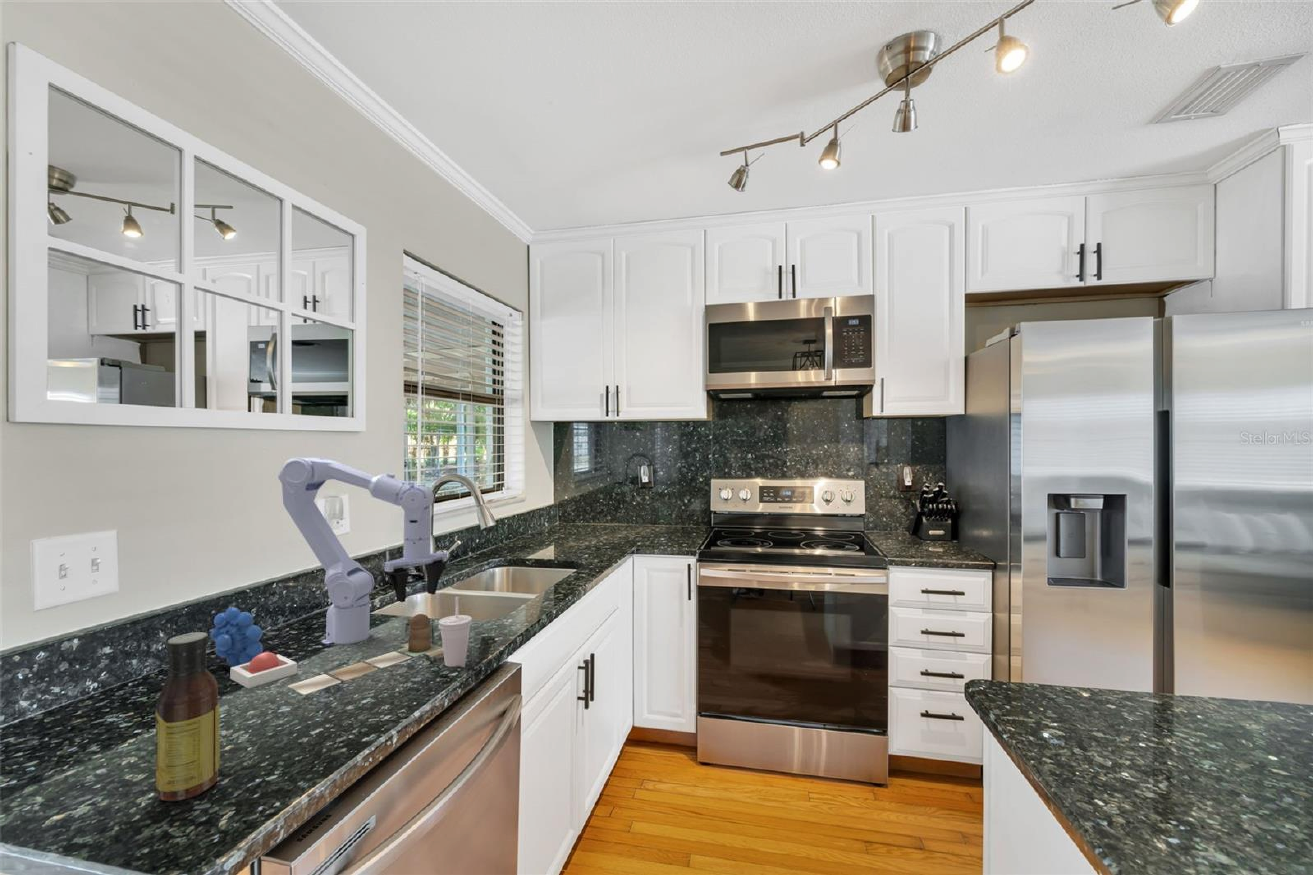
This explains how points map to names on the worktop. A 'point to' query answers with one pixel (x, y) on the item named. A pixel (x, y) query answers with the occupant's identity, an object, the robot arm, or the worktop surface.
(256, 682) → the dome base
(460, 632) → the smoothie
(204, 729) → the sauce bottle
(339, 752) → the worktop surface
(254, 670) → the dome button
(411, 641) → the walnut pawn
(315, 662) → the worktop surface
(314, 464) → the robot arm
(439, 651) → the game board
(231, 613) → the grapes
